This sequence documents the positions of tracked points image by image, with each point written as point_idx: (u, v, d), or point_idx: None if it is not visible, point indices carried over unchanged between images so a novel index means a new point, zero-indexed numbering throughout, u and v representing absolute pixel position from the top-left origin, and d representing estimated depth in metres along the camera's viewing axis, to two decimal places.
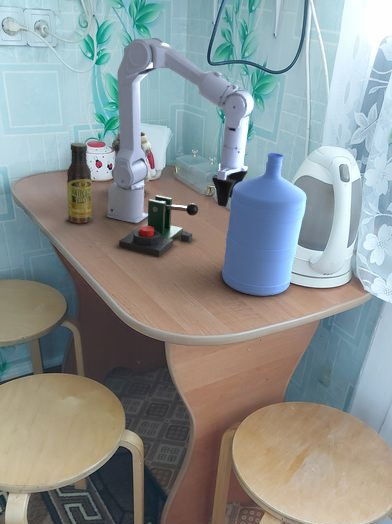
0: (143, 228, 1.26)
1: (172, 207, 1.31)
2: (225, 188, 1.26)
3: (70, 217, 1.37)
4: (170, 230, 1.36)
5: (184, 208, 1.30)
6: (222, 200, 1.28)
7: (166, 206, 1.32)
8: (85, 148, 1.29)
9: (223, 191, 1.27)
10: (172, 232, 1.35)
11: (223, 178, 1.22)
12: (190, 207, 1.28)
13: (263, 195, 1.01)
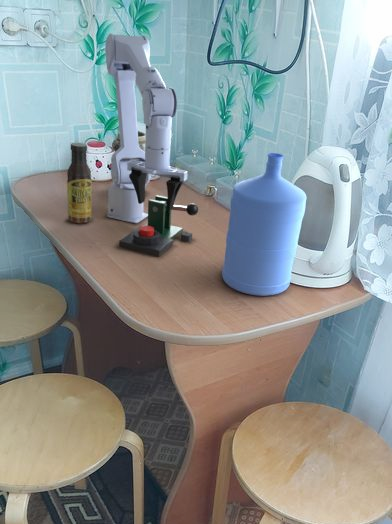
0: (143, 228, 1.26)
1: None
2: None
3: (70, 217, 1.37)
4: (170, 230, 1.36)
5: (184, 208, 1.30)
6: None
7: (166, 206, 1.32)
8: (85, 148, 1.29)
9: None
10: (172, 232, 1.35)
11: None
12: (190, 207, 1.28)
13: (264, 195, 1.01)
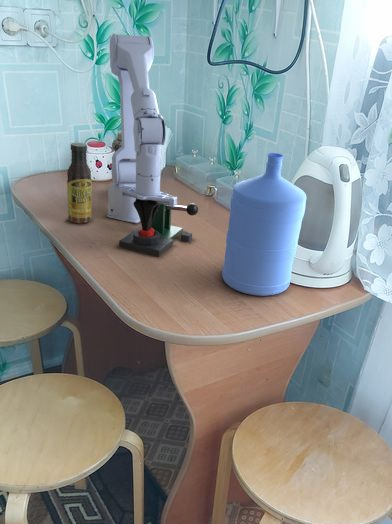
0: None
1: (172, 207, 1.31)
2: None
3: (70, 217, 1.37)
4: (170, 230, 1.36)
5: (184, 208, 1.30)
6: None
7: (166, 206, 1.32)
8: (85, 148, 1.29)
9: None
10: (172, 232, 1.35)
11: None
12: (190, 207, 1.28)
13: (264, 195, 1.01)
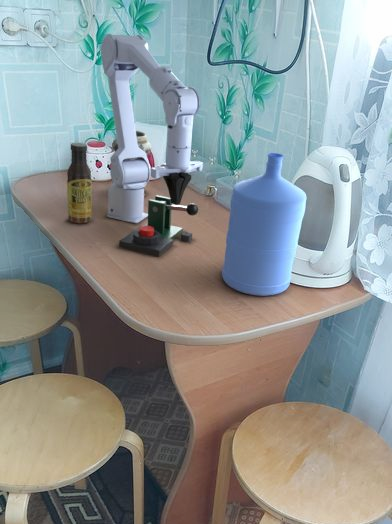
0: (143, 228, 1.26)
1: (172, 207, 1.31)
2: None
3: (70, 217, 1.37)
4: (170, 230, 1.36)
5: (184, 208, 1.30)
6: (173, 198, 1.25)
7: (166, 206, 1.32)
8: (85, 148, 1.29)
9: (173, 188, 1.24)
10: (172, 232, 1.35)
11: (154, 176, 1.18)
12: (190, 207, 1.28)
13: (264, 195, 1.01)
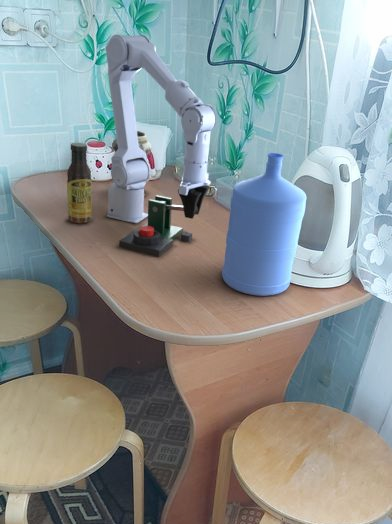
0: (143, 228, 1.26)
1: (172, 207, 1.31)
2: (191, 200, 1.26)
3: (70, 217, 1.37)
4: (170, 230, 1.36)
5: None
6: (188, 212, 1.28)
7: (166, 206, 1.32)
8: (85, 148, 1.29)
9: (189, 203, 1.27)
10: (172, 232, 1.35)
11: (184, 193, 1.21)
12: None
13: (264, 195, 1.01)
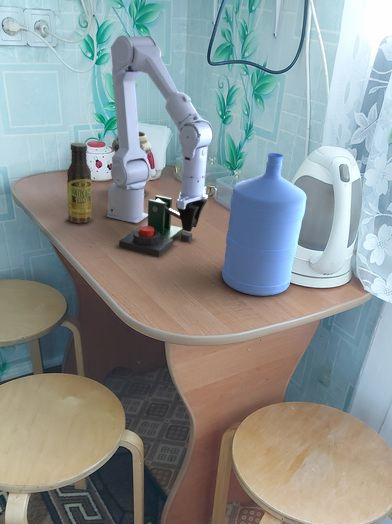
0: (143, 228, 1.26)
1: (172, 212, 1.32)
2: (189, 214, 1.28)
3: (70, 217, 1.37)
4: (170, 230, 1.36)
5: None
6: (186, 225, 1.30)
7: (166, 209, 1.32)
8: (85, 148, 1.29)
9: (187, 217, 1.29)
10: (172, 232, 1.35)
11: (182, 207, 1.23)
12: None
13: (264, 195, 1.01)
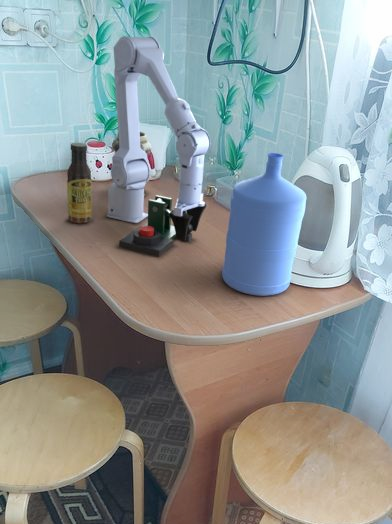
0: (143, 228, 1.26)
1: None
2: (183, 223, 1.28)
3: (70, 217, 1.37)
4: (170, 230, 1.36)
5: None
6: (180, 234, 1.30)
7: (165, 211, 1.32)
8: (85, 148, 1.29)
9: (181, 226, 1.29)
10: (172, 232, 1.35)
11: (179, 214, 1.24)
12: None
13: (264, 195, 1.01)
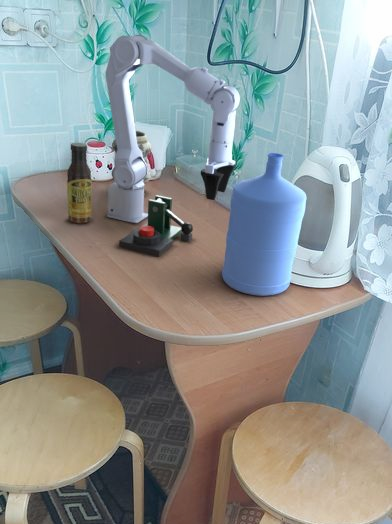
0: (143, 228, 1.26)
1: (170, 215, 1.32)
2: (213, 182, 1.28)
3: (70, 217, 1.37)
4: (170, 230, 1.36)
5: (180, 223, 1.32)
6: (210, 194, 1.30)
7: (165, 211, 1.32)
8: (85, 148, 1.29)
9: (211, 185, 1.29)
10: (172, 232, 1.35)
11: (211, 172, 1.24)
12: (186, 227, 1.32)
13: (264, 195, 1.01)
